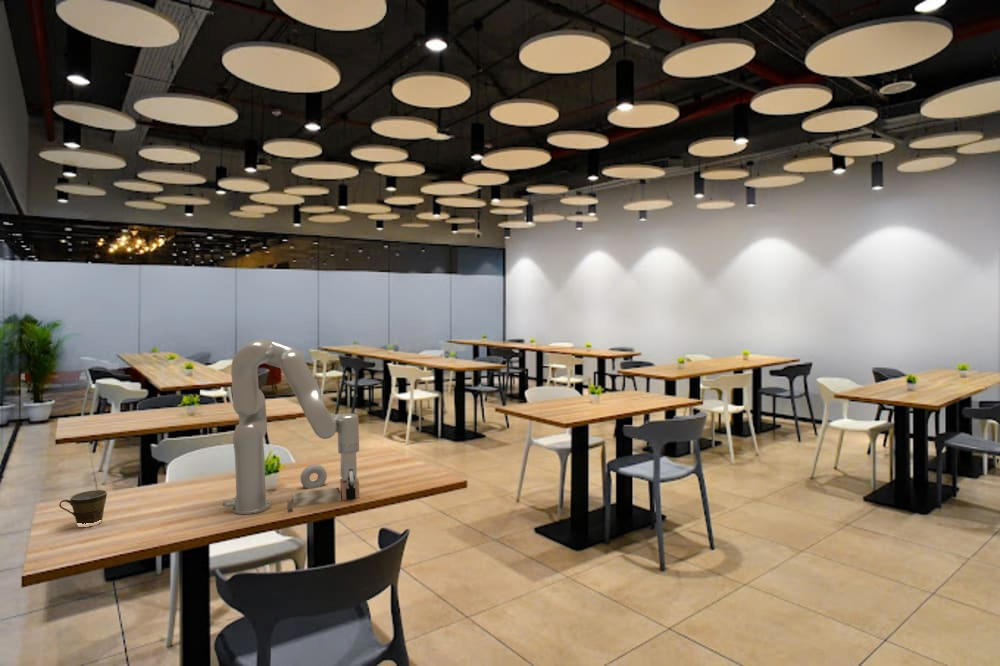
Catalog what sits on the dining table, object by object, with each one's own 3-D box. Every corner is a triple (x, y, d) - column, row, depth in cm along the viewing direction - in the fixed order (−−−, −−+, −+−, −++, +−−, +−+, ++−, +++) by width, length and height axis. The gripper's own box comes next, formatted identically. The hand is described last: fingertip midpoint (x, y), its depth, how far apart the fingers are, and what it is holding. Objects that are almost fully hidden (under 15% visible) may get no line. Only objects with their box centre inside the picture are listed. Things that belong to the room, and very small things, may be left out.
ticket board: (288, 512, 202) (287, 500, 202) (287, 503, 211) (287, 492, 211) (391, 498, 215) (391, 487, 215) (386, 491, 224) (386, 480, 224)
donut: (301, 493, 223) (301, 467, 222) (299, 490, 226) (299, 465, 225) (328, 488, 228) (327, 463, 228) (325, 486, 231) (325, 461, 231)
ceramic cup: (110, 517, 200) (108, 488, 199) (105, 526, 191) (104, 496, 190) (63, 523, 194) (62, 494, 193) (57, 534, 185) (55, 503, 184)
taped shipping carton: (342, 499, 210) (341, 483, 210) (340, 495, 216) (340, 478, 216) (359, 497, 212) (358, 481, 212) (357, 492, 218) (356, 476, 218)
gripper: (335, 443, 220) (337, 490, 221) (340, 454, 204) (341, 504, 205) (356, 441, 223) (357, 488, 224) (362, 452, 207) (363, 501, 208)
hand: (349, 495), depth 214 cm, fingers closed on taped shipping carton, 6 cm apart
